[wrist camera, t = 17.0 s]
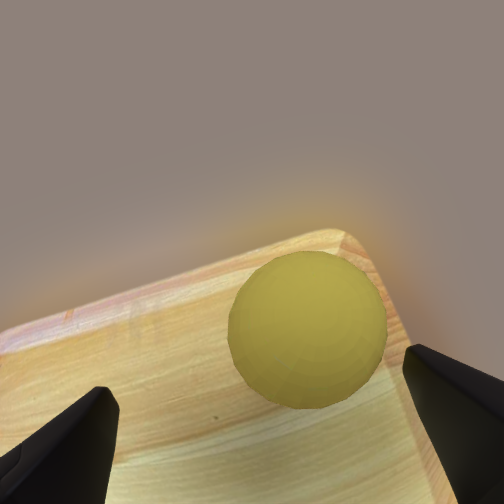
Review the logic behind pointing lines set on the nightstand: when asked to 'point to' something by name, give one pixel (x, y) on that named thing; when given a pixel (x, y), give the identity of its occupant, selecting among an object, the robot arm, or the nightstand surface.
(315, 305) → the light bulb
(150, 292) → the nightstand surface
